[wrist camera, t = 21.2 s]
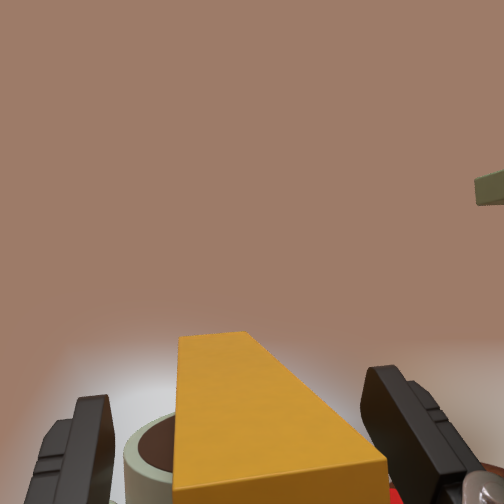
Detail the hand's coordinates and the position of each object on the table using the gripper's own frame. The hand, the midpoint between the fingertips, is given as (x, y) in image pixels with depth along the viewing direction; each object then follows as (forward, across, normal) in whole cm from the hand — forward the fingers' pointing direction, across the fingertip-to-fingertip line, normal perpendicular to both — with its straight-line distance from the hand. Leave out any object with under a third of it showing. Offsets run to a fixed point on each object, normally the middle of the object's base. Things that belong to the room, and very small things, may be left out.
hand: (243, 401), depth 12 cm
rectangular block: (+2, 0, +4) cm, 5 cm away
